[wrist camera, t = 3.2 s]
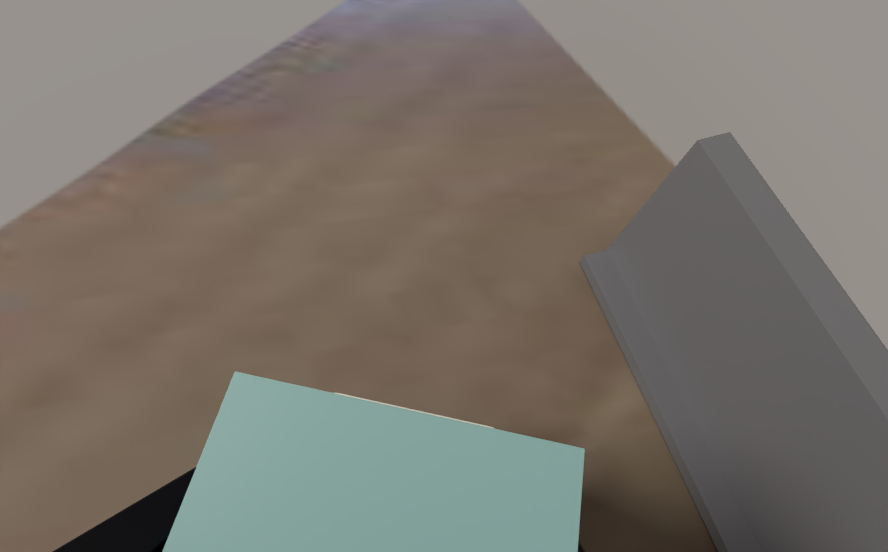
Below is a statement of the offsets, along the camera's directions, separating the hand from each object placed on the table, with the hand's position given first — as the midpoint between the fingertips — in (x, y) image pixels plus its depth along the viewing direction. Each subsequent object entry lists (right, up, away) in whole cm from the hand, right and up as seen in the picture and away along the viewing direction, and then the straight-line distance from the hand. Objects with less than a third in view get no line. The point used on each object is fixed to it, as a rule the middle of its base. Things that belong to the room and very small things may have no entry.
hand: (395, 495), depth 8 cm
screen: (+10, 0, +7) cm, 12 cm away
